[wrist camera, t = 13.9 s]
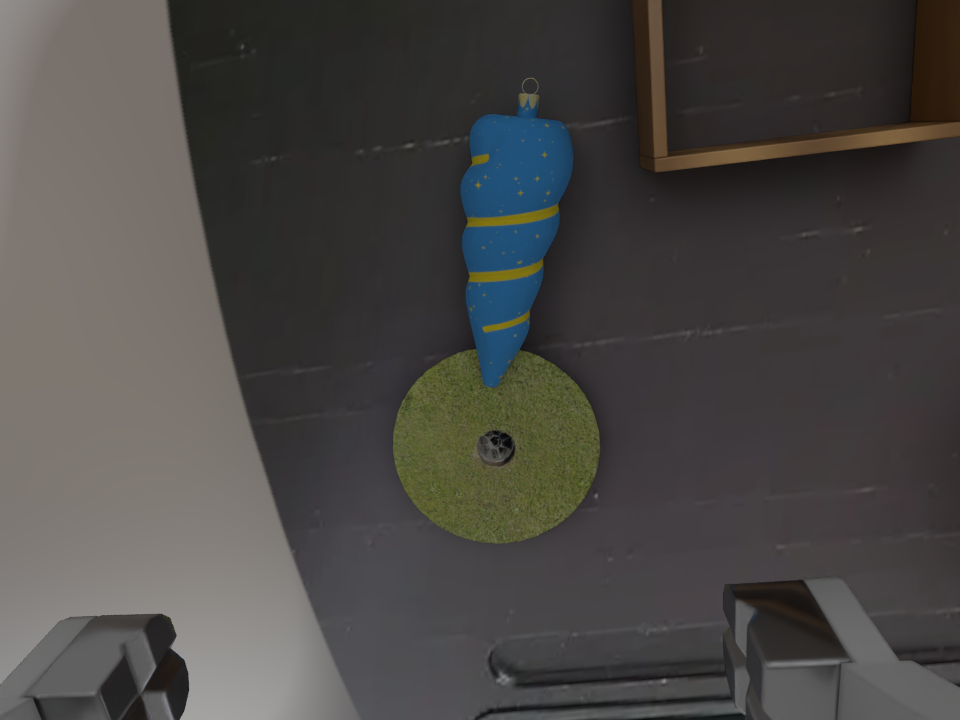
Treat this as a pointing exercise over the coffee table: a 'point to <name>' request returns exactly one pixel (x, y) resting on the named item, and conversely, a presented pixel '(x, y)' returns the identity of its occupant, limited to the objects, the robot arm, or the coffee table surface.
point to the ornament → (510, 224)
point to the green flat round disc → (496, 447)
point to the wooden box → (934, 115)
